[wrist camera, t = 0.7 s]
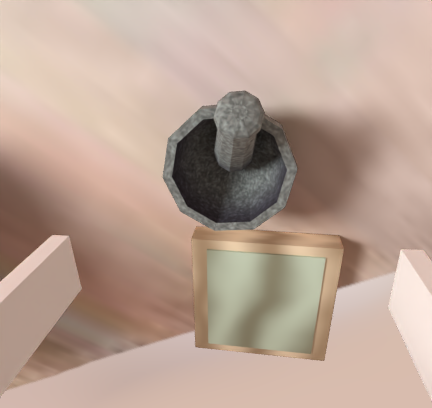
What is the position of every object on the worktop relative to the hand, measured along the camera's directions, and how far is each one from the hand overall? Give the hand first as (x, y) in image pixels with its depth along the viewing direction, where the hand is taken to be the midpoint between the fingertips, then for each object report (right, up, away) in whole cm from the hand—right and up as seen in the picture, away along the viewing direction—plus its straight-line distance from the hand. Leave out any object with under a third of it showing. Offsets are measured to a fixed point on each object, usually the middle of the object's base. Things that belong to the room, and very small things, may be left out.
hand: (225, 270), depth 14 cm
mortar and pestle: (+2, +8, +17) cm, 19 cm away
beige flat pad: (+5, -6, +23) cm, 25 cm away
